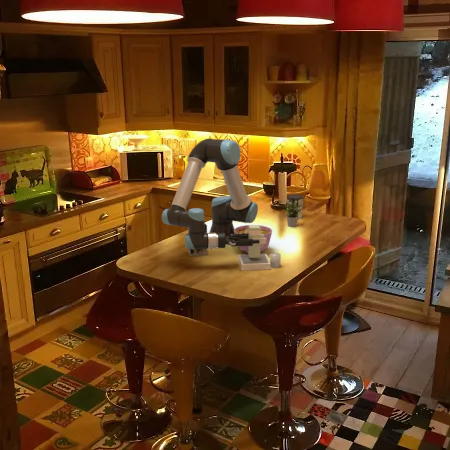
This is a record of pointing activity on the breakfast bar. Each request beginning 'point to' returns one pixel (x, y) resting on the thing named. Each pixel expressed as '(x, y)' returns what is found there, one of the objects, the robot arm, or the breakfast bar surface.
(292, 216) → the house plant
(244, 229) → the bowl of food
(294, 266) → the breakfast bar surface
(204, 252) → the coffee box
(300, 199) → the coffee can
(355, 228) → the breakfast bar surface
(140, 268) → the breakfast bar surface
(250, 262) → the podium
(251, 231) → the slim carton
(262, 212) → the breakfast bar surface
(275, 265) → the white rounded capsule
